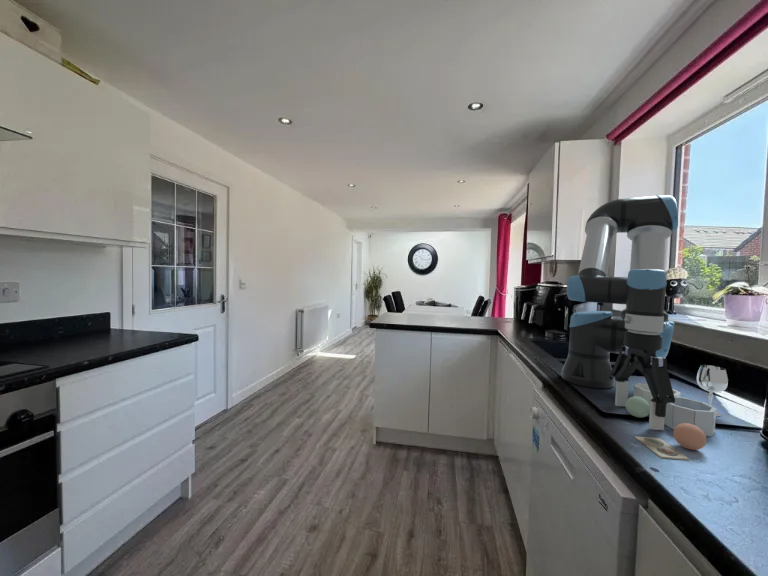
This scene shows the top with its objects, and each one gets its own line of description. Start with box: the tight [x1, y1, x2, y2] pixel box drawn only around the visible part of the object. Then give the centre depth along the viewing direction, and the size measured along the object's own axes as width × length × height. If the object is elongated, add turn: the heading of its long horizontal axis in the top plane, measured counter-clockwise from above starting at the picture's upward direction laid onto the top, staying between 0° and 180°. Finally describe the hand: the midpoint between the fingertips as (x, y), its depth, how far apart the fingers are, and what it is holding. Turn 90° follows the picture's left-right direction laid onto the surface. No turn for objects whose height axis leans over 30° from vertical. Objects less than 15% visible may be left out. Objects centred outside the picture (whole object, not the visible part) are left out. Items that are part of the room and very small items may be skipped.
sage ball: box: [625, 396, 650, 419], centre depth 84 cm, size 5×5×5 cm
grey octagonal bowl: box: [664, 396, 717, 437], centre depth 79 cm, size 9×9×6 cm
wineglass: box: [696, 364, 729, 418], centre depth 87 cm, size 6×6×12 cm
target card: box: [634, 435, 690, 461], centre depth 69 cm, size 8×5×1 cm, turn 174°
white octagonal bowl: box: [632, 382, 681, 405], centre depth 89 cm, size 9×9×6 cm
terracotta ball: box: [673, 423, 707, 451], centre depth 69 cm, size 5×5×5 cm
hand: (637, 416), depth 84 cm, fingers open, 13 cm apart
